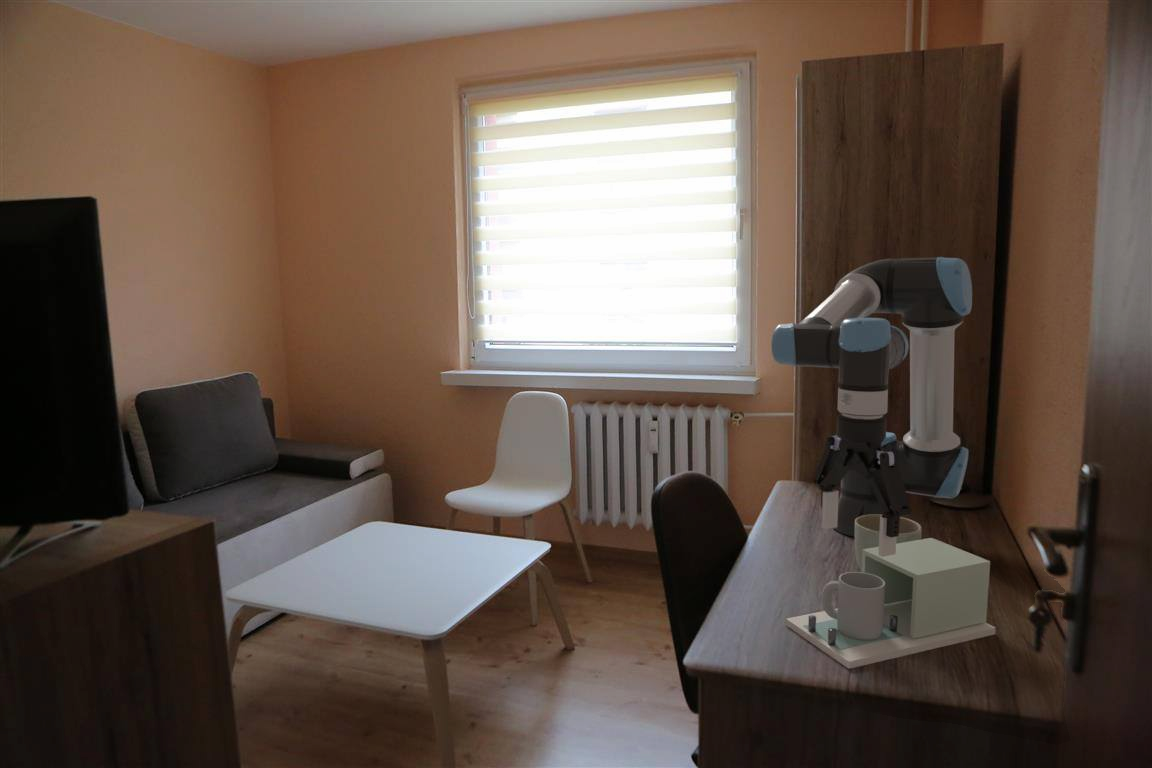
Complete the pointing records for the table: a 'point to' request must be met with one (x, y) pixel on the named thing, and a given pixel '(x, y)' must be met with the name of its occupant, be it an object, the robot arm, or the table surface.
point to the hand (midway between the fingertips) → (856, 540)
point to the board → (881, 637)
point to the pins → (833, 631)
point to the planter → (869, 533)
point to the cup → (857, 604)
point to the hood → (933, 584)
